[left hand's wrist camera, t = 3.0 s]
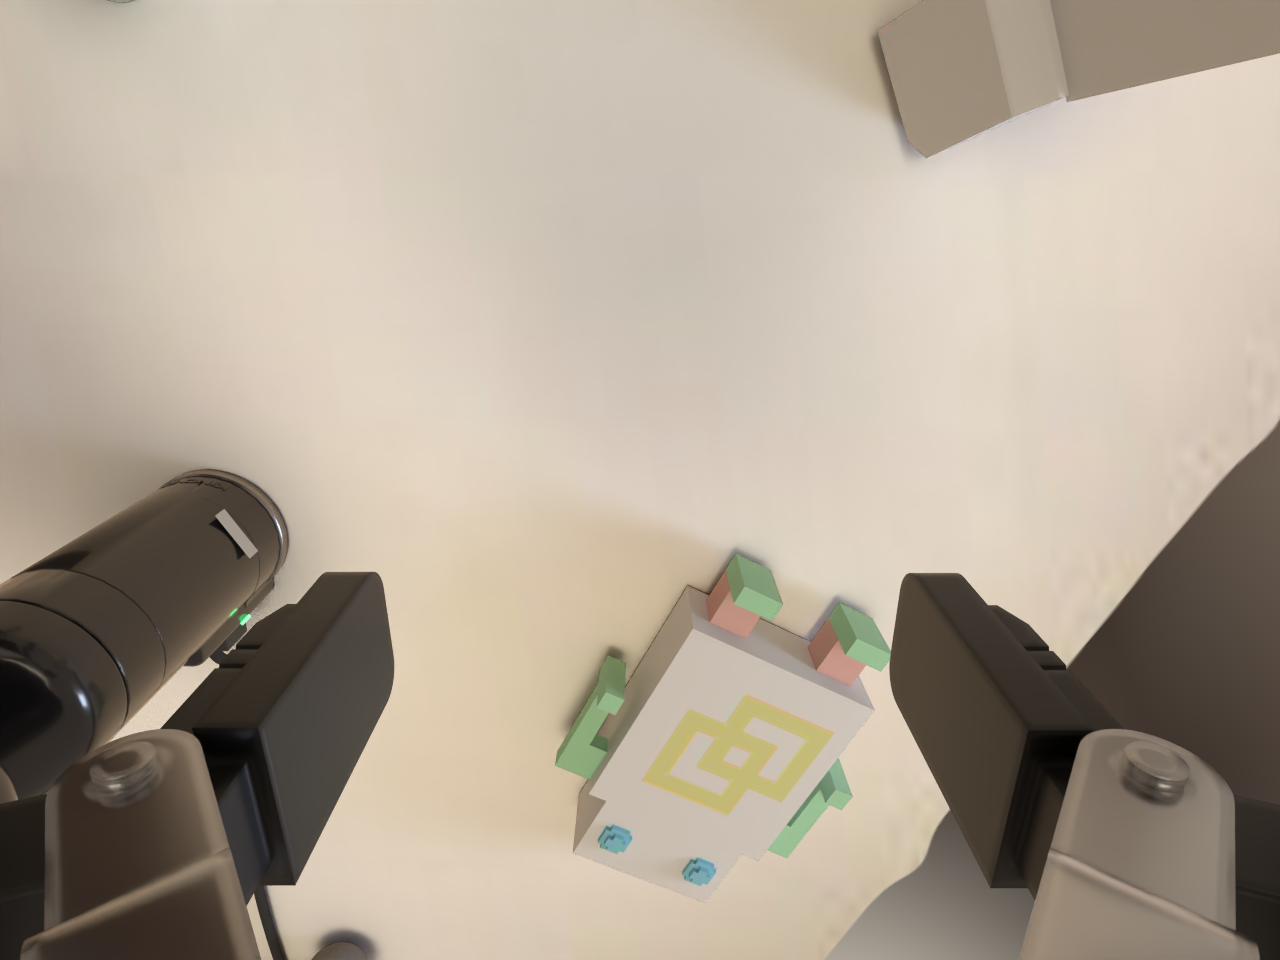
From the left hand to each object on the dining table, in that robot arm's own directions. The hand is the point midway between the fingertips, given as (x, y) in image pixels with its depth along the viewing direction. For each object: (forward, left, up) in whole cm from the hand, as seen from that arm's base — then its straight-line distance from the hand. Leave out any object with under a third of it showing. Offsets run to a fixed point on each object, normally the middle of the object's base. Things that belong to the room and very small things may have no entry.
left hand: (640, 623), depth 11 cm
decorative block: (+31, +6, -37) cm, 49 cm away
